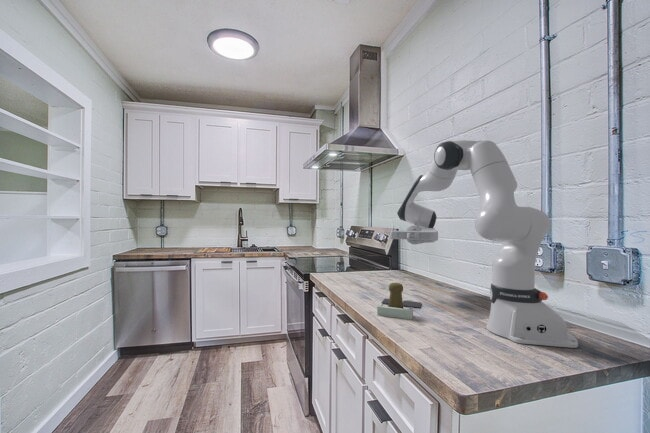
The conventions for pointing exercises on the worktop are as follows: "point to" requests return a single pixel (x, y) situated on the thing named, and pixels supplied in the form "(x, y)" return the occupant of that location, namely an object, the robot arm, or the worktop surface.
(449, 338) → the worktop surface
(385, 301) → the trap squares
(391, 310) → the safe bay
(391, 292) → the cork
